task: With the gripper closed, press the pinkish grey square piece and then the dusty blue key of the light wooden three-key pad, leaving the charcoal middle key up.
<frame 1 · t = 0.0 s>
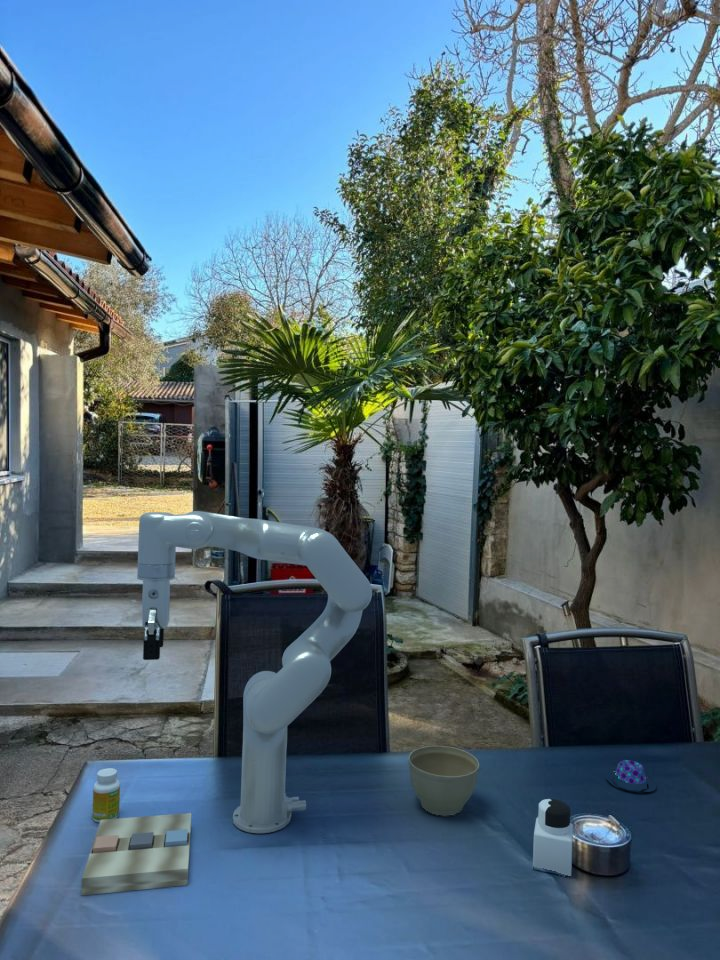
hand: (153, 652, 137), 37 cm above the table, tool pointing down, fingers open, 9 cm apart
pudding: (630, 785, 166), on the table
pinkish grey square piece: (106, 845, 125), point 3 cm above the table, slide at 0.0 cm
key charcoal: (141, 842, 126), point 3 cm above the table, slide at 0.0 cm
keypad: (141, 858, 126), on the table
medicine bottle: (552, 865, 129), on the table
planter bowl: (441, 807, 150), on the table
key blue: (176, 839, 128), point 3 cm above the table, slide at 0.0 cm
supplement bottle: (105, 818, 141), on the table
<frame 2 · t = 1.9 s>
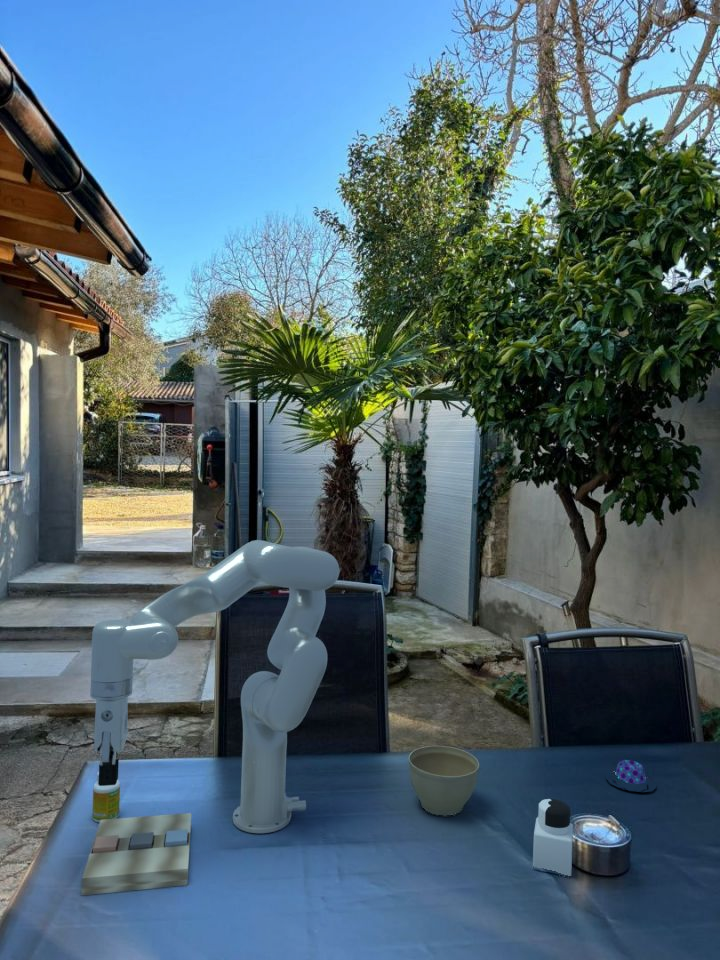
hand: (108, 782, 125), 15 cm above the table, tool pointing down, fingers closed
nothing on the table moved.
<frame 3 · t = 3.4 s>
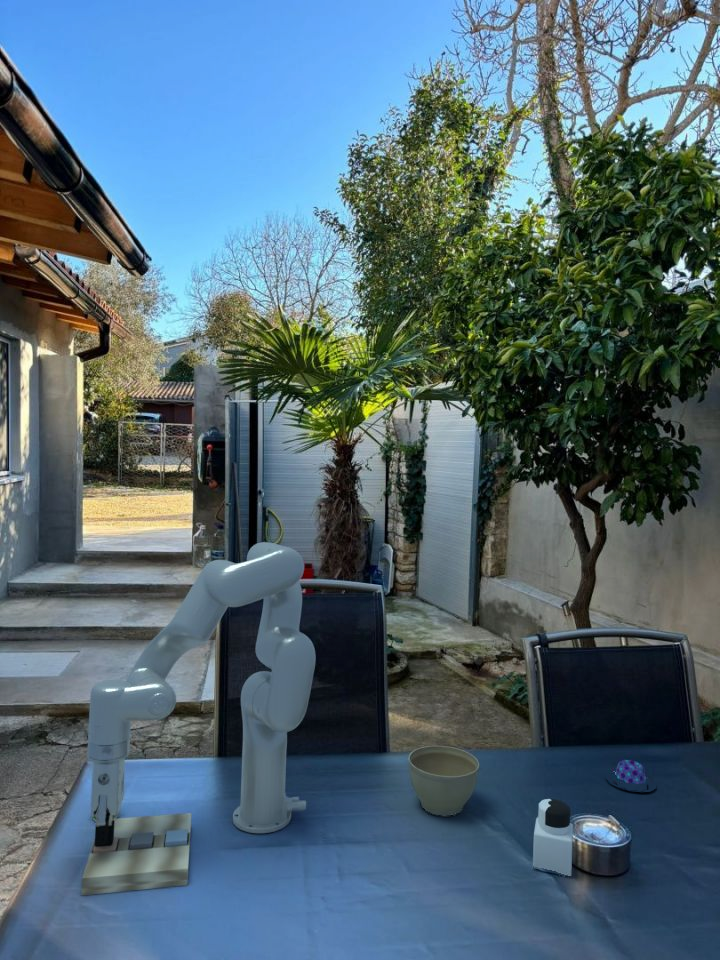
hand: (104, 843, 125), 3 cm above the table, tool pointing down, fingers closed
pinkish grey square piece: (105, 847, 125), point 3 cm above the table, slide at 0.4 cm, touching gripper
everything else where it was.
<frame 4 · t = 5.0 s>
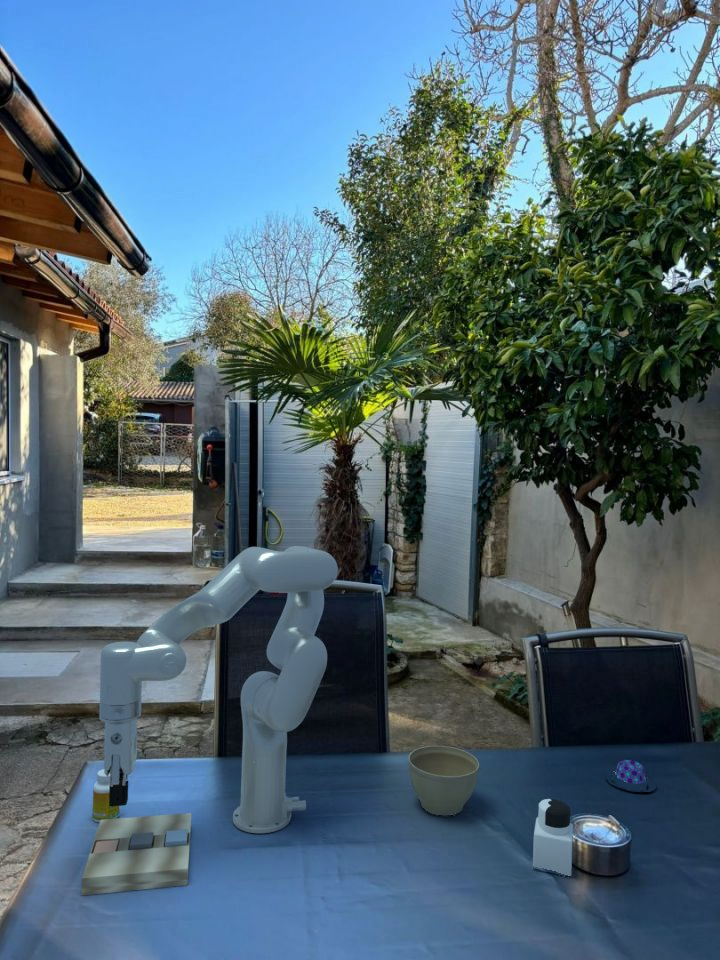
hand: (118, 803, 125), 11 cm above the table, tool pointing down, fingers closed
pinkish grey square piece: (105, 850, 125), point 2 cm above the table, slide at 1.0 cm
everything else where it was.
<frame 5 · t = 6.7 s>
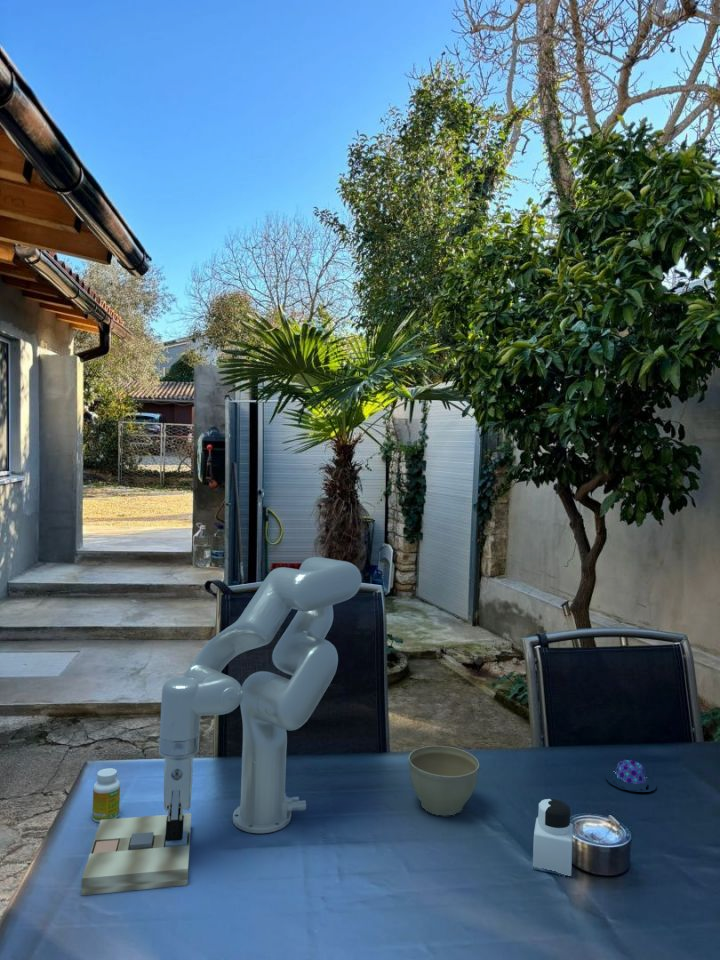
hand: (174, 838, 127), 3 cm above the table, tool pointing down, fingers closed
key blue: (176, 841, 128), point 3 cm above the table, slide at 0.4 cm, touching gripper
everything else where it was.
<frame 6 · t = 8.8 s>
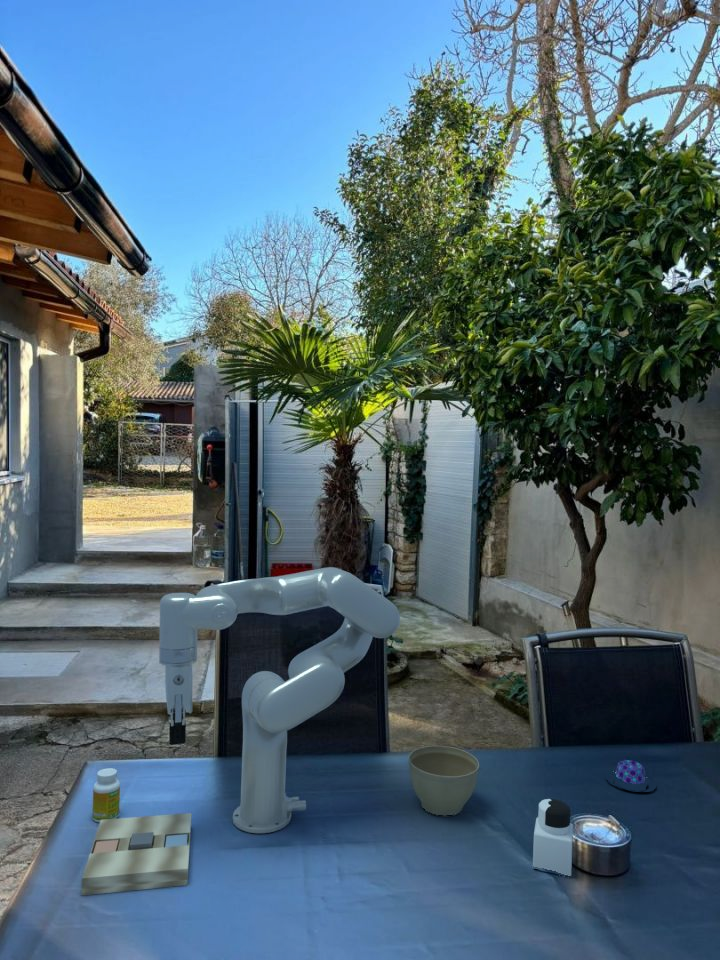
hand: (177, 742, 135), 19 cm above the table, tool pointing down, fingers closed
key blue: (176, 844, 128), point 2 cm above the table, slide at 1.0 cm
everything else where it was.
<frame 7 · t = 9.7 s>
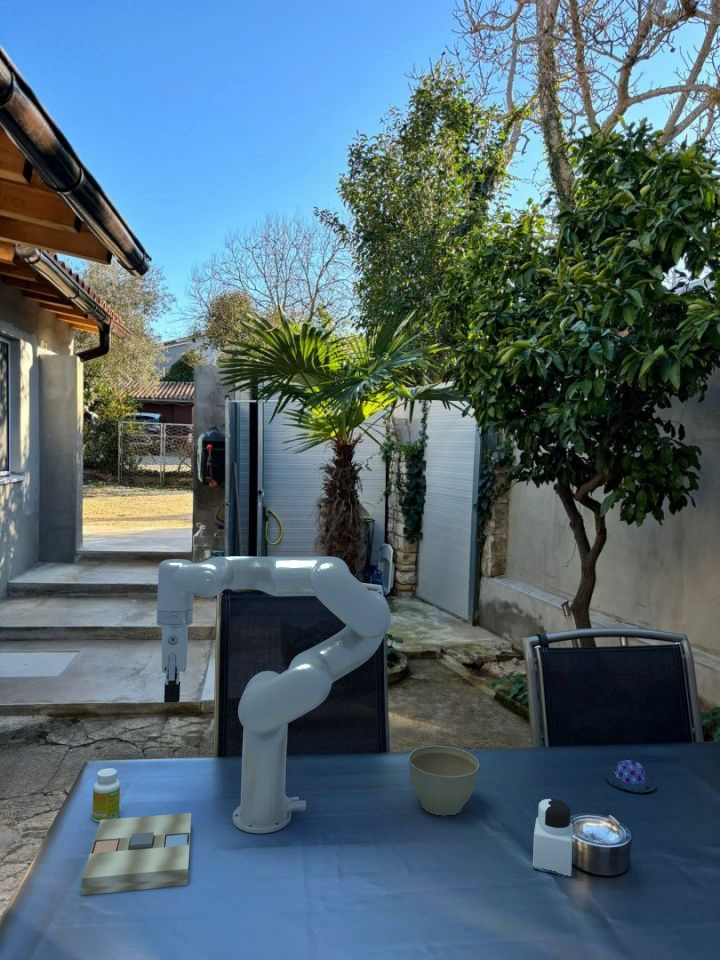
hand: (171, 701, 142), 25 cm above the table, tool pointing down, fingers closed
nothing on the table moved.
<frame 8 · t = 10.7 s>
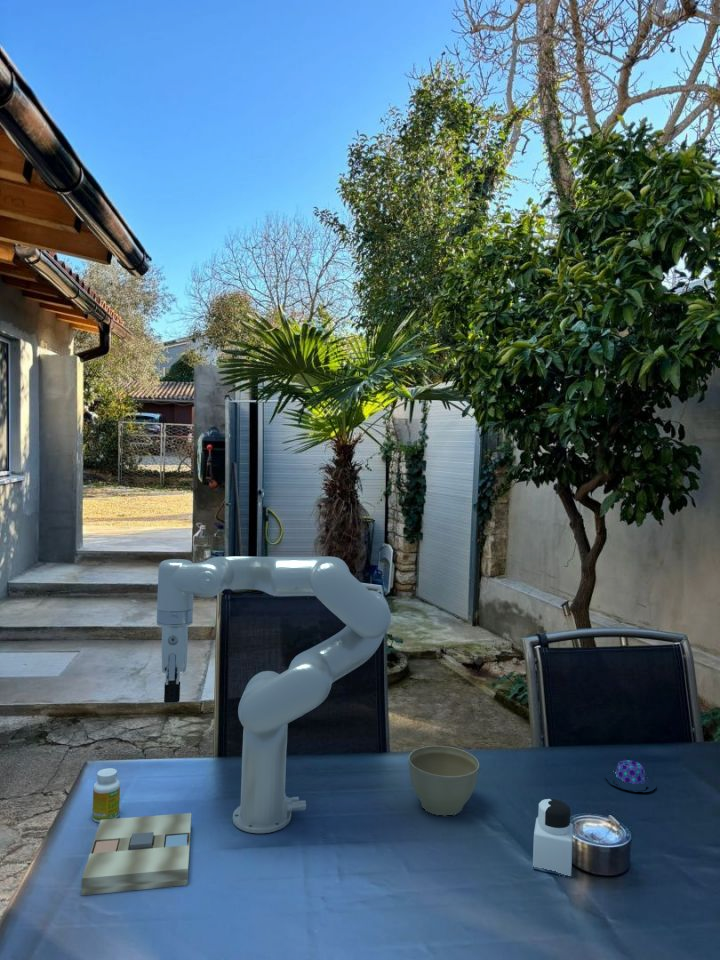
hand: (171, 701, 142), 25 cm above the table, tool pointing down, fingers closed
nothing on the table moved.
at the end: pinkish grey square piece slide at 1.0 cm; key blue slide at 1.0 cm; key charcoal slide at 0.0 cm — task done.
